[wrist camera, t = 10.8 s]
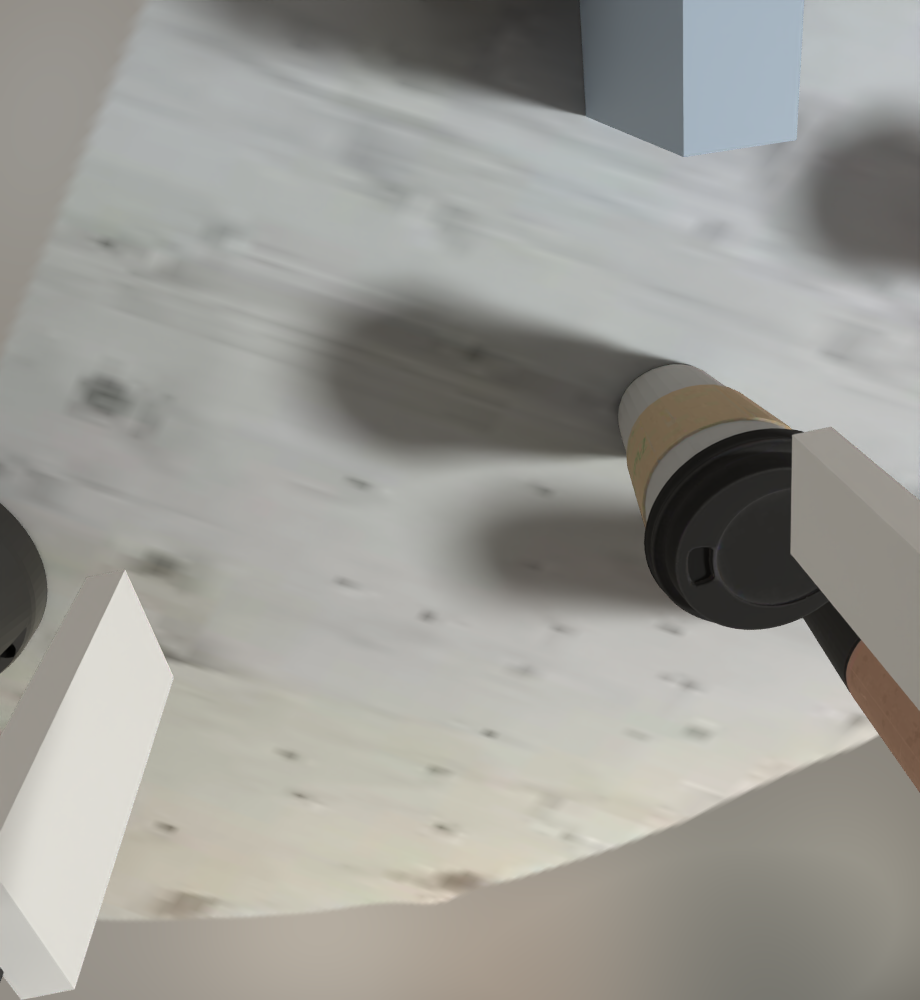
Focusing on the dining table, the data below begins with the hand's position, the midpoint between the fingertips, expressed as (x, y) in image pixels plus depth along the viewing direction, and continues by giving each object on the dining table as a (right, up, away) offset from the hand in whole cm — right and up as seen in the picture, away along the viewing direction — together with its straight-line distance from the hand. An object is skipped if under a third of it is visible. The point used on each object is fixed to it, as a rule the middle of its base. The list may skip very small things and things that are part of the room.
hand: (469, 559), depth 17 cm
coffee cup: (+12, +6, +31) cm, 34 cm away
